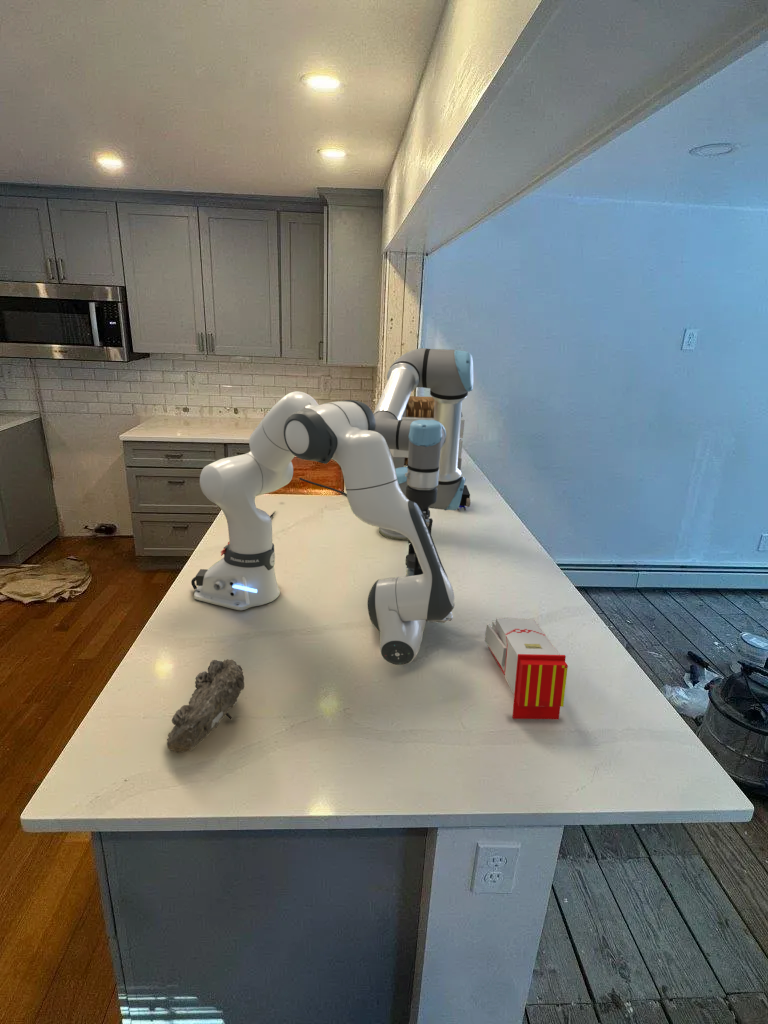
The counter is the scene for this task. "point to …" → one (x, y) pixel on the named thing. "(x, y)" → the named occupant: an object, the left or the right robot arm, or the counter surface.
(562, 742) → the counter surface
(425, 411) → the white slatted box
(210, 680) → the fossil
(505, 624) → the toy
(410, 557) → the lid
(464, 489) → the figurine character
